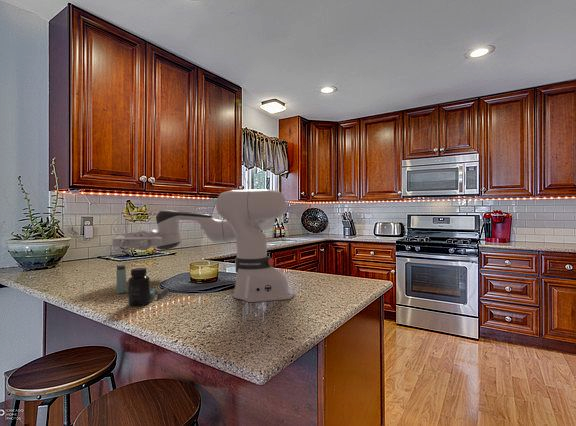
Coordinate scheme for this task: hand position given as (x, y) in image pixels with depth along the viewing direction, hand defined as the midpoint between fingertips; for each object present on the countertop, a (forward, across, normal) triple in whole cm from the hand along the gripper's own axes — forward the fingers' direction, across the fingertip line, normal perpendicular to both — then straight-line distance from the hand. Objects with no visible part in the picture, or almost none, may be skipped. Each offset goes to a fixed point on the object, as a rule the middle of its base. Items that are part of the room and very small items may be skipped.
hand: (130, 243), depth 133 cm
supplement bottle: (+23, -13, -18) cm, 32 cm away
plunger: (+13, -8, -18) cm, 23 cm away
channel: (+14, -13, -18) cm, 26 cm away
